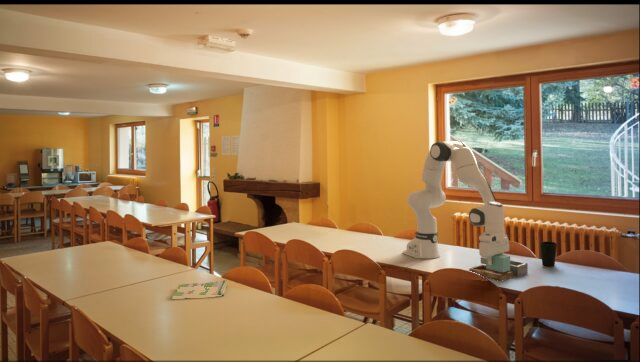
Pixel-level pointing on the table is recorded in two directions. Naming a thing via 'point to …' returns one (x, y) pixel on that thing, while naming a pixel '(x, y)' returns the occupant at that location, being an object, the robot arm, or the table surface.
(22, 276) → the table surface
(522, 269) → the bay
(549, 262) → the cup
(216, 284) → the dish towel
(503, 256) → the green rectangular block
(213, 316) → the table surface
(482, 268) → the tray
